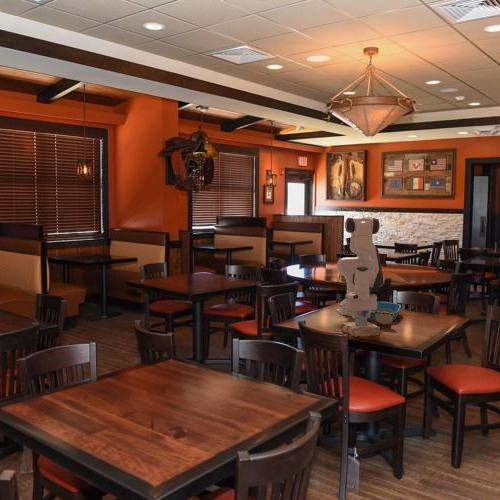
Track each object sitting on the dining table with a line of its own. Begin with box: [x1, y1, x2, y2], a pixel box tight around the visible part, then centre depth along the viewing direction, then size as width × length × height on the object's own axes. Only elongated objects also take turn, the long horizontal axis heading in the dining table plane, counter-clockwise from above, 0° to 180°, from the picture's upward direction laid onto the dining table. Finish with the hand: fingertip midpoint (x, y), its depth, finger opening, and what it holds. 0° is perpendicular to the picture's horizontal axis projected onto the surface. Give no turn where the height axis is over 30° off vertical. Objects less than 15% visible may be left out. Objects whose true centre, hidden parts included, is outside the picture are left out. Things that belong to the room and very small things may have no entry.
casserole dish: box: [364, 301, 402, 322], centre depth 370 cm, size 37×22×7 cm, turn 158°
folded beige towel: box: [341, 321, 381, 338], centre depth 328 cm, size 16×16×5 cm
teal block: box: [354, 315, 368, 326], centre depth 327 cm, size 5×5×5 cm
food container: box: [374, 310, 394, 329], centre depth 342 cm, size 12×6×10 cm, turn 59°
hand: (360, 317), depth 327 cm, fingers open, 8 cm apart
